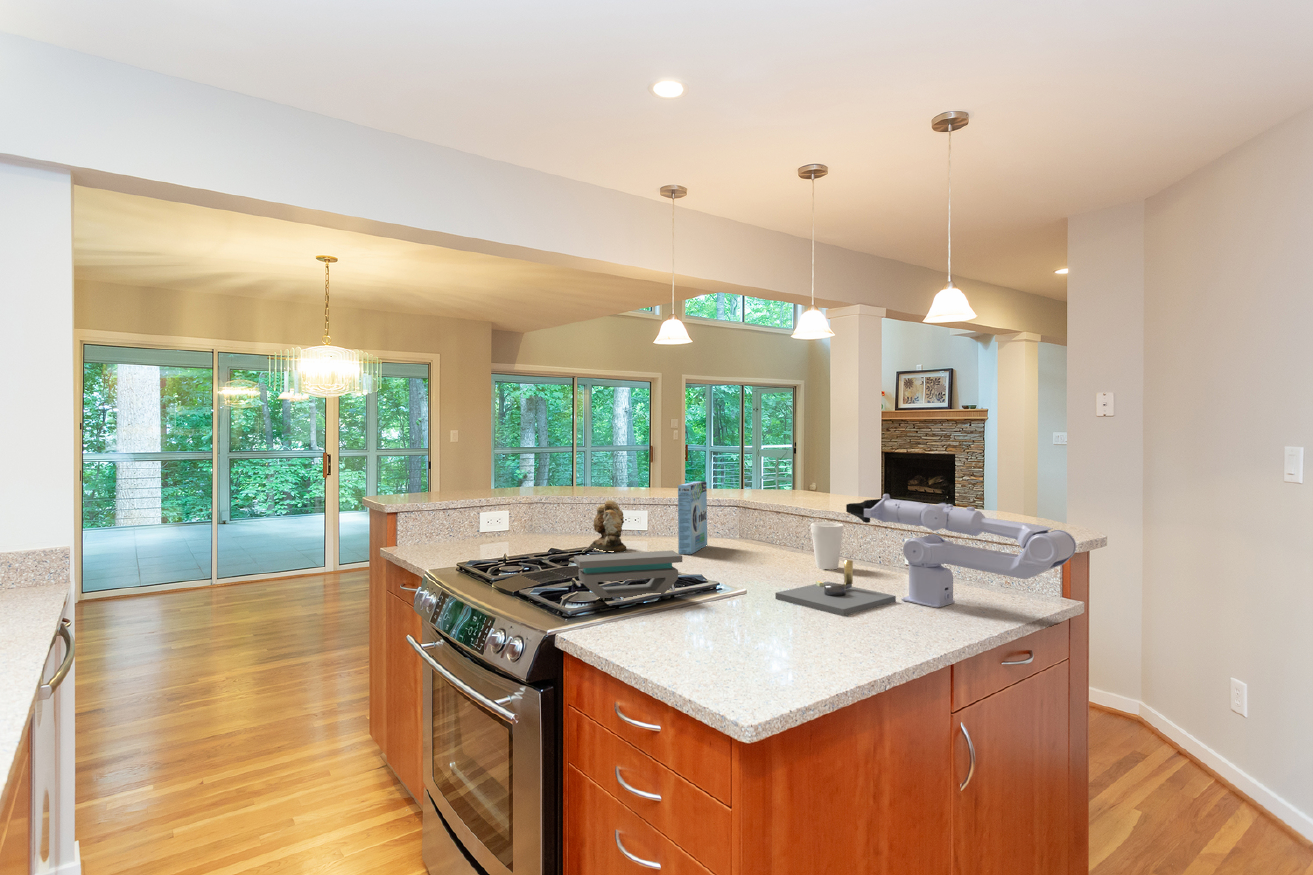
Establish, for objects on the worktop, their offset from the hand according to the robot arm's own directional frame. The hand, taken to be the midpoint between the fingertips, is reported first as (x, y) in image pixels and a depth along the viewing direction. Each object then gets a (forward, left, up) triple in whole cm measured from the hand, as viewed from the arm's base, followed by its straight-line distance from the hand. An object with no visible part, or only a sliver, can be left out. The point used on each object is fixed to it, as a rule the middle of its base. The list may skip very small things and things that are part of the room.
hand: (856, 506), depth 181 cm
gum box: (+70, -4, -21) cm, 73 cm away
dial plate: (-5, +16, -21) cm, 27 cm away
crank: (-5, +13, -20) cm, 24 cm away
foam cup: (+21, -14, -21) cm, 33 cm away
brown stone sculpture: (+90, +18, -22) cm, 94 cm away
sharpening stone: (+26, +55, -21) cm, 64 cm away
